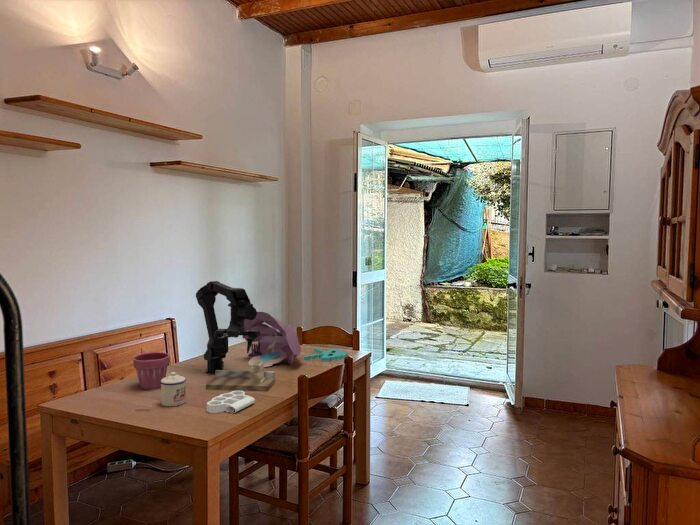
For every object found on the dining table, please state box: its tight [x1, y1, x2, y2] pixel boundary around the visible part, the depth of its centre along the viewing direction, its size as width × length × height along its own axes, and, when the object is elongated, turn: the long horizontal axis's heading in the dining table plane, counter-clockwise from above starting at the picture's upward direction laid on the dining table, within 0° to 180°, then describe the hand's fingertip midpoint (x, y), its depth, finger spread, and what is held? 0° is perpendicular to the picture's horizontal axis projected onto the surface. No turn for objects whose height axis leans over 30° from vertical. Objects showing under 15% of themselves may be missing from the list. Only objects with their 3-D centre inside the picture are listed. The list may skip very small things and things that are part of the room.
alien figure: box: [303, 347, 349, 362], centre depth 259 cm, size 20×2×20 cm
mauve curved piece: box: [241, 311, 302, 368], centre depth 246 cm, size 35×24×28 cm
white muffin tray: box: [206, 390, 256, 414], centre depth 184 cm, size 3×18×15 cm
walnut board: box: [205, 369, 276, 392], centre depth 209 cm, size 26×13×4 cm, turn 86°
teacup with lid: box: [160, 371, 187, 408], centre depth 188 cm, size 12×9×12 cm
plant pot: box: [132, 351, 171, 390], centre depth 207 cm, size 14×14×13 cm
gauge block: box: [250, 362, 265, 382], centre depth 210 cm, size 4×6×7 cm, turn 176°
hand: (237, 352), depth 216 cm, fingers open, 9 cm apart
